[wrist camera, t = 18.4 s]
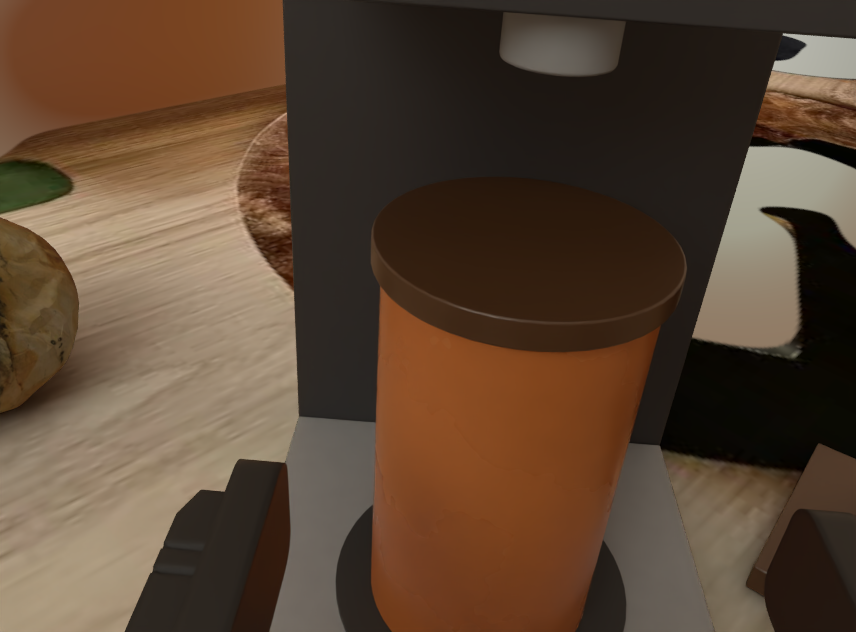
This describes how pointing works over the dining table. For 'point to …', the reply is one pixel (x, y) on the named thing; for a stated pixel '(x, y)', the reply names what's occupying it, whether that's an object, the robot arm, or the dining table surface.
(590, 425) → the orange lidded canister
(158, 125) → the dining table surface
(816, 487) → the control block
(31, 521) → the dining table surface
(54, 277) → the onion
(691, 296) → the dark brown rectangular box
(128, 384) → the dining table surface
